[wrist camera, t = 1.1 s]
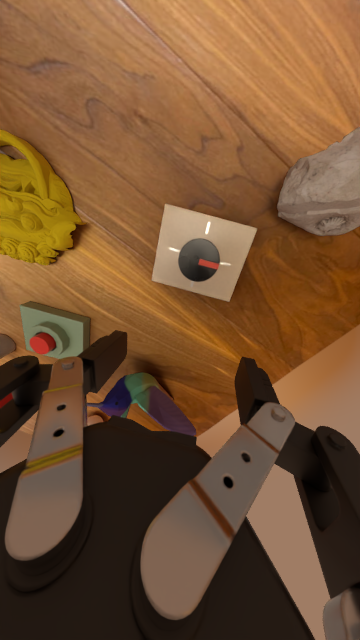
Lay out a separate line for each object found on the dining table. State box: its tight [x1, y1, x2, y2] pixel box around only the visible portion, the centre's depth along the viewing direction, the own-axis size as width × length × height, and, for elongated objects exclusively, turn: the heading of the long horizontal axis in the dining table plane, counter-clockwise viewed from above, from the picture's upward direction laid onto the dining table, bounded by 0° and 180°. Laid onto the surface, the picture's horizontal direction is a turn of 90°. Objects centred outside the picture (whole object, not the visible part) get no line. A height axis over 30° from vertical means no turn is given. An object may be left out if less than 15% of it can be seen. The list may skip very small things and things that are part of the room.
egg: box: [87, 415, 103, 426], centre depth 42 cm, size 5×5×8 cm
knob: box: [178, 238, 220, 282], centre depth 21 cm, size 4×4×6 cm
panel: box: [152, 204, 257, 302], centre depth 26 cm, size 12×10×3 cm
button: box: [29, 332, 56, 354], centre depth 32 cm, size 4×4×2 cm
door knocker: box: [0, 129, 87, 265], centre depth 26 cm, size 17×16×4 cm
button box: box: [20, 301, 90, 359], centre depth 34 cm, size 12×10×4 cm
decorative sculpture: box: [87, 372, 196, 436], centre depth 31 cm, size 17×18×15 cm
